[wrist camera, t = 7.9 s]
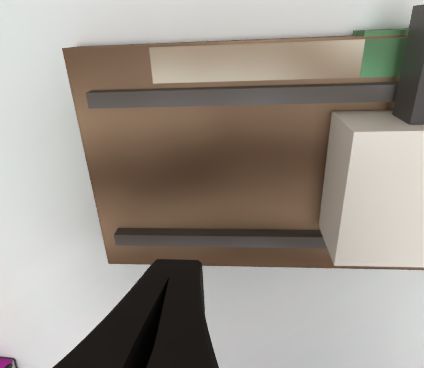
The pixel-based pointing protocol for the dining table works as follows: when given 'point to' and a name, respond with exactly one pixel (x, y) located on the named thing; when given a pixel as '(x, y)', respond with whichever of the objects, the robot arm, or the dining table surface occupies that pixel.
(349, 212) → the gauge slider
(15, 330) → the dining table surface
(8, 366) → the candy bar box
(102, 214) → the base
